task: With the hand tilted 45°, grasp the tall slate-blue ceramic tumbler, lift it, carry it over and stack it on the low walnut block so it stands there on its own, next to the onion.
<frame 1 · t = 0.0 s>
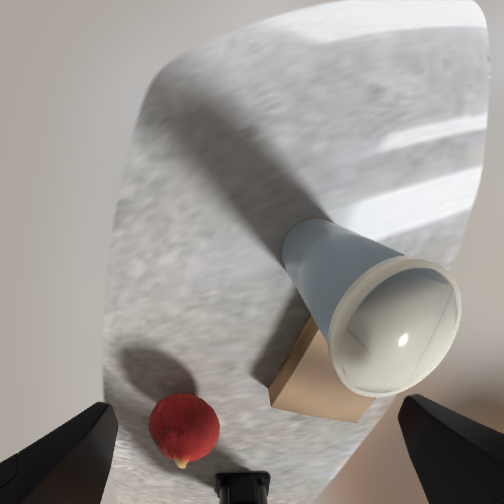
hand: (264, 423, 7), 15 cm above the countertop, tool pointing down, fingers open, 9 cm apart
onion: (189, 398, 24), on the countertop
block: (335, 363, 24), on the countertop
tumbler: (314, 251, 21), on the countertop
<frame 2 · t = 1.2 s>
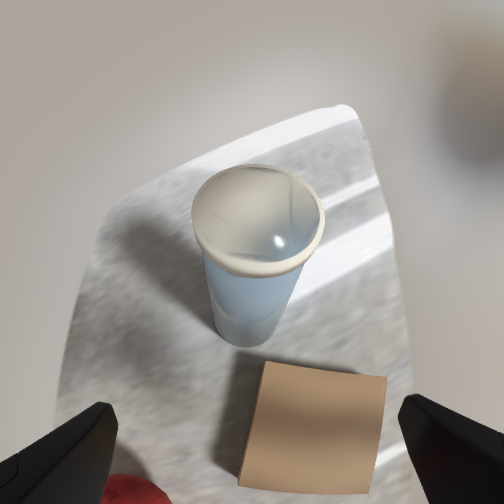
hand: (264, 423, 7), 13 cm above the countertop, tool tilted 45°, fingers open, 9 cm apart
onion: (146, 499, 14), on the countertop
block: (310, 432, 18), on the countertop
tumbler: (245, 317, 23), on the countertop
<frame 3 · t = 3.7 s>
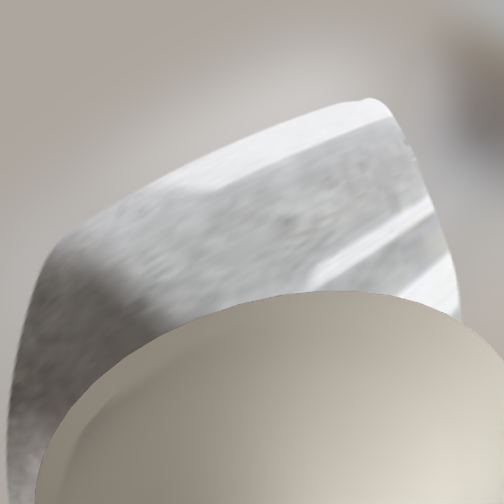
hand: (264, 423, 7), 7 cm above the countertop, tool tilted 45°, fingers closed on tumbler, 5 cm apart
tumbler: (251, 445, 12), on the countertop, touching gripper
when the fingers open (10 cm above the countertop, at t = 6.7 s): tumbler drops 1 cm, resting on block.
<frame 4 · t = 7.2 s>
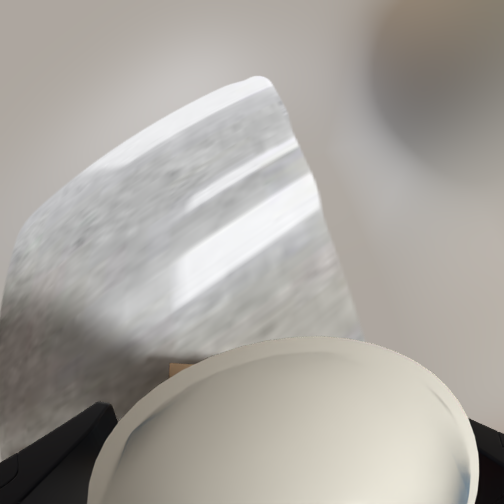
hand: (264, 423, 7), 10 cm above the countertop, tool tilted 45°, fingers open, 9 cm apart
tumbler: (251, 444, 13), point 3 cm above the countertop, touching block
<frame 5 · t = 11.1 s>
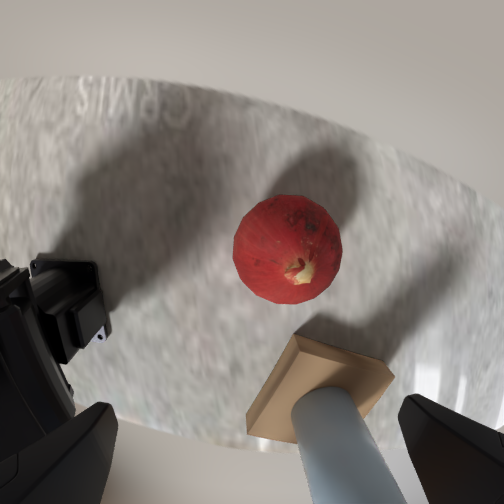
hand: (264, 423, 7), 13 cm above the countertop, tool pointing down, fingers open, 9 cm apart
onion: (277, 236, 20), on the countertop
block: (315, 390, 22), on the countertop
tumbler: (321, 410, 20), point 3 cm above the countertop, touching block
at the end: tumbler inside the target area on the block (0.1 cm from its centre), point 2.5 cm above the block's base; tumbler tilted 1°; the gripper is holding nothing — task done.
